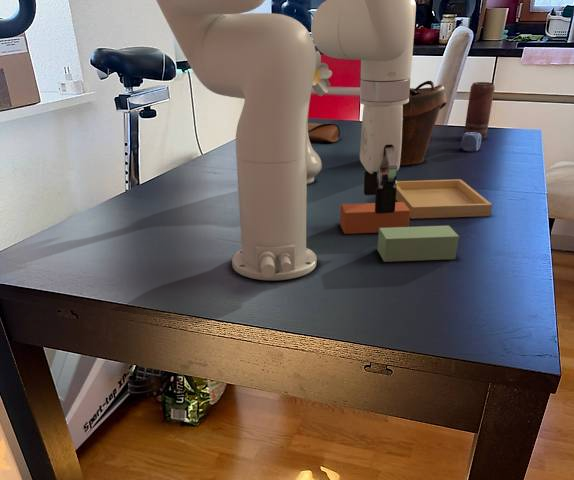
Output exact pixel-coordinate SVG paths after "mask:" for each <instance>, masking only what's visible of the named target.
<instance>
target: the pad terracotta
mask: <svg viewBox="0 0 574 480" xmlns="http://www.w3.org/2000/svg"><path fill="white" fill-rule="evenodd" d="M410 219H411V218H410V210H409V208H408V207H407V206H406V205H405V204H404V202H397V201H396V202H395V211H394V212H393V213H380V214H377V213H376V212H375V202H363V203H362V202H361V203H341V204H340V214H339V225H340V228H341V229H342V232H343V234H344V235H350V234H351V235H353V234H379V228H391V227H410Z"/></svg>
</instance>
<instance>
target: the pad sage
mask: <svg viewBox="0 0 574 480" xmlns="http://www.w3.org/2000/svg"><path fill="white" fill-rule="evenodd" d="M377 237H378V238H377V252H378V254H379V256H380V257H381V259H382V261H383V262H384V263H388V262H389V263H390V262H392V263H393V262H415V261H417V262H418V261H440V260H441V261H442V260H444V261H445V260H456V259H457V258H456V257H457V251H458V245H459V239H460V235H458V234H457V232H455V230H454V229H453V228H452V227H451V226H450V225H425V226H424V225H422V226H420V225H419V226H409V227H391V228H379V233H378V235H377Z"/></svg>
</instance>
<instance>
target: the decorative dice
mask: <svg viewBox="0 0 574 480" xmlns="http://www.w3.org/2000/svg"><path fill="white" fill-rule="evenodd" d="M481 144H482V140H481V134H480V133H476V132H467V133H465V134H464V133H463V135H462V138H461V142H460V148H461V150H462V151H464V152H469V153H470V152H478V150H479V149H480V147H481Z"/></svg>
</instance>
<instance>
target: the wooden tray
mask: <svg viewBox="0 0 574 480" xmlns="http://www.w3.org/2000/svg"><path fill="white" fill-rule="evenodd" d="M396 182H397V187H396V202H404V204H405V205H406V206H407V207H408V208H409V210H410V219H411V220H414V219H415V220H416V219H442V218H443V219H445V218H471V217H473V218H475V217H491V214H492V208H493V204H492V203H491V202H490V201H489V200H487V199H486V198H485V197H484V196H482V195H481V194H480V193H479V192H477V191H476V190H475V189H473V188H472V187H471V186H470V185H469V184H467V183H466V182H465V181H464V180H462V179H459V178H457V179H426V180H425V179H424V180H401V181H400V180H396Z"/></svg>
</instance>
